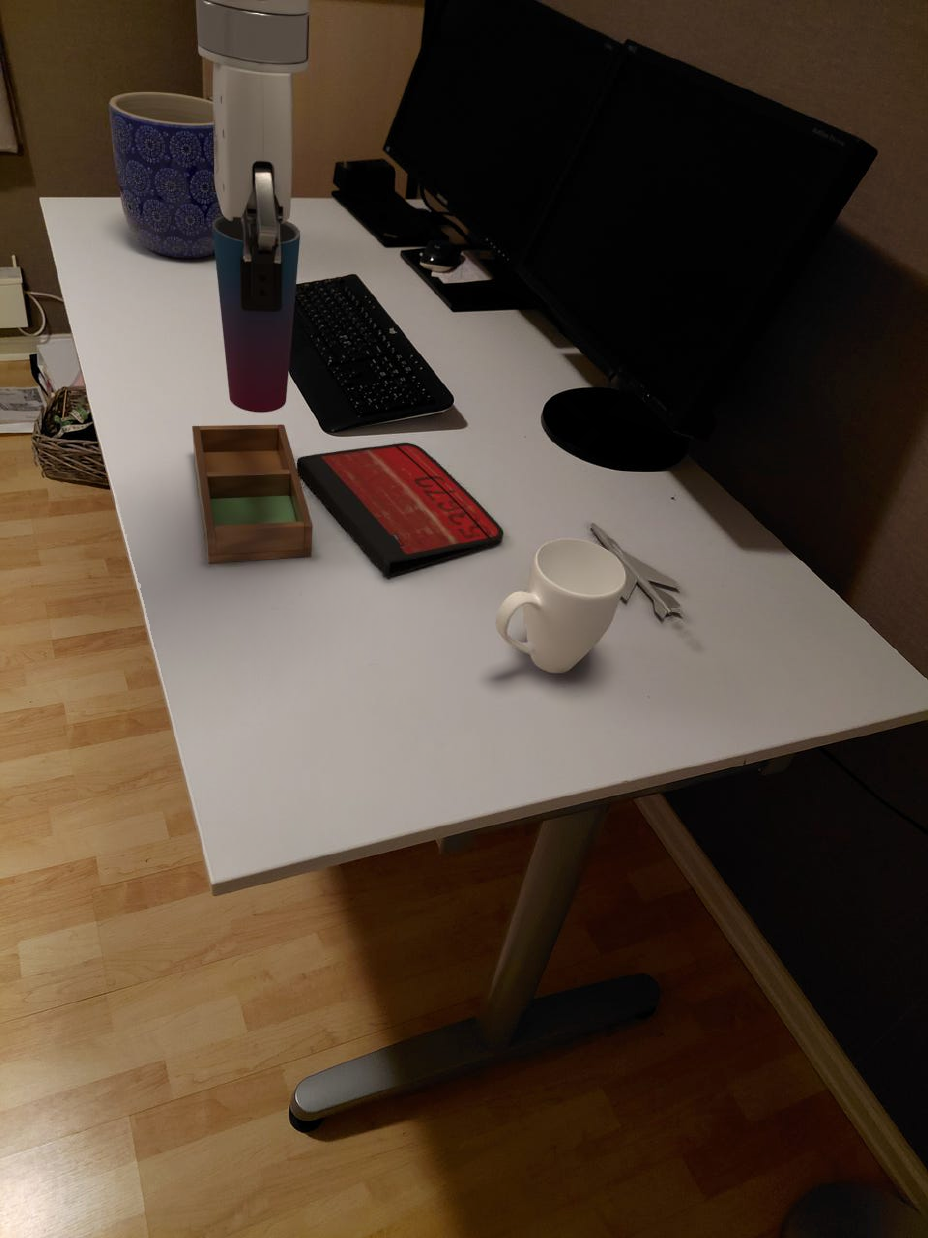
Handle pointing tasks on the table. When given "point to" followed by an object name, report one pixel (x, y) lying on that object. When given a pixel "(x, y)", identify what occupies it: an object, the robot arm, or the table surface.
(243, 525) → the wooden compartment tray
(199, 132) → the planter
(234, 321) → the cup
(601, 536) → the toy airplane
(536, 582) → the mug
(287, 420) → the table surface
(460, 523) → the binder
